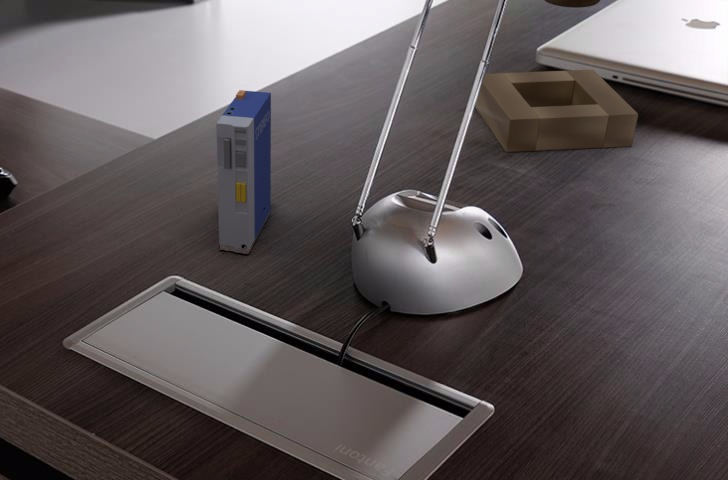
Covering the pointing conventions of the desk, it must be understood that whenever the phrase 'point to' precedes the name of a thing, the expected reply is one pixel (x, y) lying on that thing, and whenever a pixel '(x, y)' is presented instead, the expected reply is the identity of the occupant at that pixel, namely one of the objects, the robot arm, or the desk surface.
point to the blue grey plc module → (244, 168)
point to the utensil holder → (573, 3)
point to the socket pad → (555, 111)
